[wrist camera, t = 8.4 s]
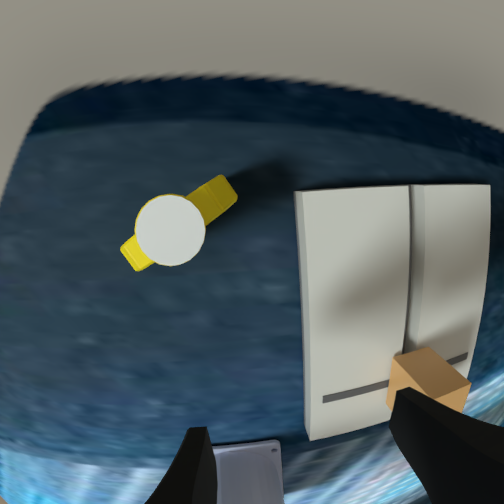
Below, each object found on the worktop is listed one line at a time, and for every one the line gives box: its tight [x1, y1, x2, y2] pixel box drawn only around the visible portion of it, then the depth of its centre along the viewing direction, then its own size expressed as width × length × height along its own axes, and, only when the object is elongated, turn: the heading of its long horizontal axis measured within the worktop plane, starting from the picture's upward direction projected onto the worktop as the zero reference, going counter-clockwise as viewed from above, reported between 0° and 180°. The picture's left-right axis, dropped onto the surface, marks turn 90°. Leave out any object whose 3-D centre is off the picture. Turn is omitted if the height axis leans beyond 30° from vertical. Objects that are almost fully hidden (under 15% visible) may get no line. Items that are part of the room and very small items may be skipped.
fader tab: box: [386, 347, 471, 413], centre depth 17 cm, size 4×3×7 cm
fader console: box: [293, 184, 490, 441], centre depth 19 cm, size 17×14×2 cm
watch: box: [120, 175, 238, 271], centre depth 15 cm, size 6×3×6 cm, turn 124°
